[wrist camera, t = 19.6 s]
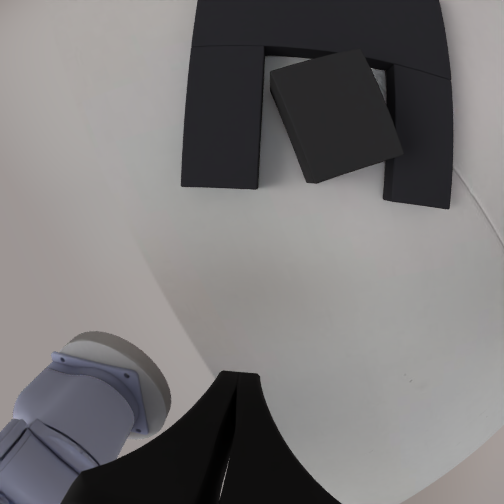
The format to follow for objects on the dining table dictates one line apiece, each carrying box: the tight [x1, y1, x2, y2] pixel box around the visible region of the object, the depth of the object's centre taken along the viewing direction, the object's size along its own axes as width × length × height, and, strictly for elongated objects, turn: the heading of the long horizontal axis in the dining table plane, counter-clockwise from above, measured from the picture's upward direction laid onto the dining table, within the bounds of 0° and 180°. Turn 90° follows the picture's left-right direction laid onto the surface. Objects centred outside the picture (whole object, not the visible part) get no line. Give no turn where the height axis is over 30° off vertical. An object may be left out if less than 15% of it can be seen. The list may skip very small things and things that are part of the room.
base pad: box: [181, 0, 453, 209], centre depth 15 cm, size 16×16×2 cm
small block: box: [270, 48, 404, 184], centre depth 15 cm, size 6×5×4 cm
